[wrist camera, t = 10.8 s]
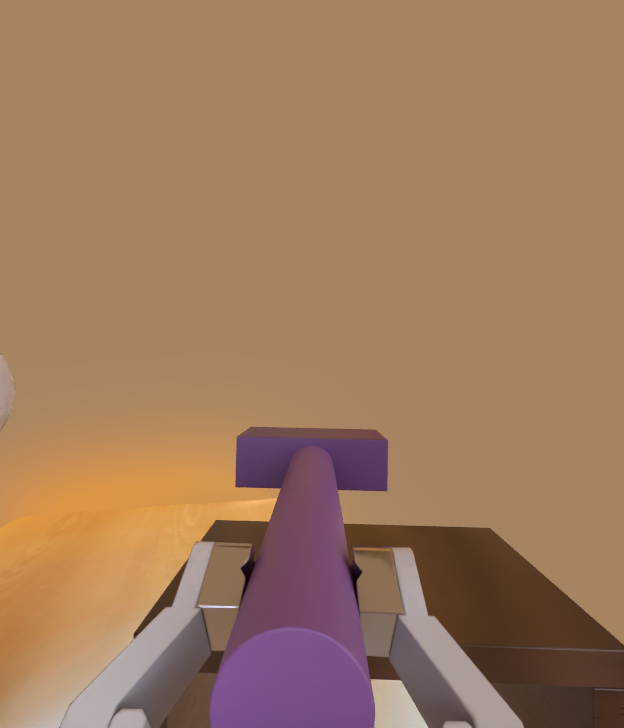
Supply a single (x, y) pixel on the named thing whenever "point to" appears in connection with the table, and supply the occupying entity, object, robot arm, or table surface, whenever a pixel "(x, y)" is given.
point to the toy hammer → (301, 587)
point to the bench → (470, 626)
